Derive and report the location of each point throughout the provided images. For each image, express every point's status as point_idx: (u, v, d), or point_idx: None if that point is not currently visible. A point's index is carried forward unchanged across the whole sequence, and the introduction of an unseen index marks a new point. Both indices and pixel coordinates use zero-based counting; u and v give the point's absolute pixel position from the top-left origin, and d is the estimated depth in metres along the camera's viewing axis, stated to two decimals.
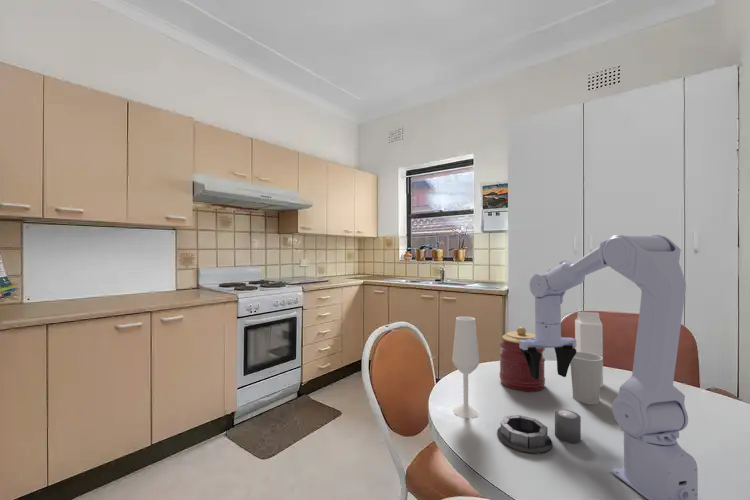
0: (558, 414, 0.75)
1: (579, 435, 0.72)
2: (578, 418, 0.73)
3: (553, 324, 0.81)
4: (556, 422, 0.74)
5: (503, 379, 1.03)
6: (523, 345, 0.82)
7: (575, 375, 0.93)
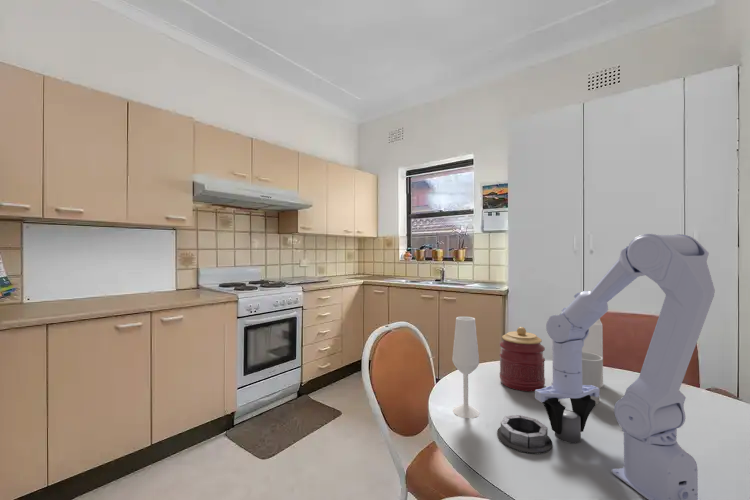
0: None
1: (579, 435, 0.72)
2: (578, 418, 0.73)
3: (574, 373, 0.72)
4: None
5: (503, 379, 1.03)
6: (540, 396, 0.73)
7: None
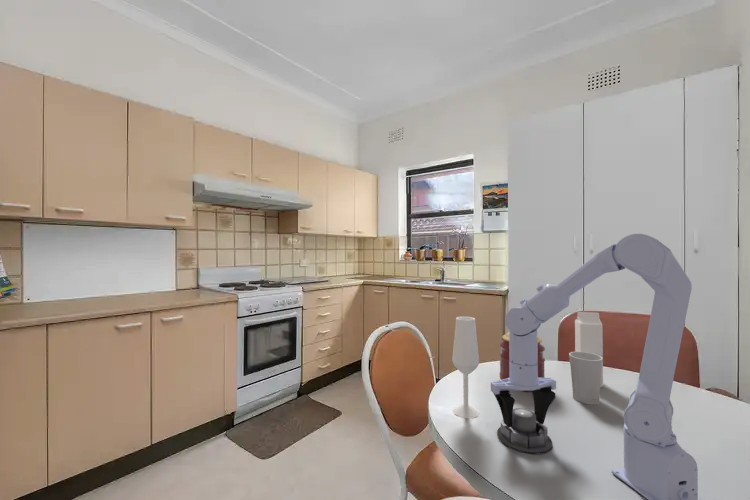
0: (515, 412, 0.74)
1: None
2: (533, 417, 0.72)
3: (528, 365, 0.71)
4: (512, 421, 0.74)
5: None
6: (494, 389, 0.72)
7: (575, 375, 0.93)
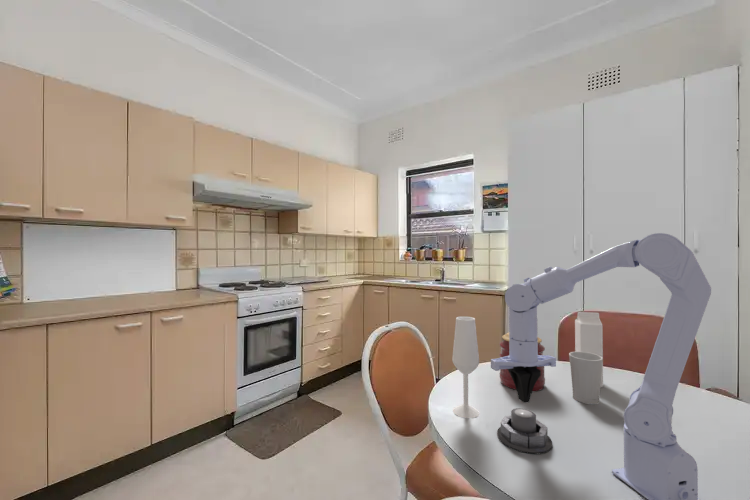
0: (515, 412, 0.74)
1: None
2: (533, 417, 0.72)
3: (528, 341, 0.71)
4: (512, 421, 0.74)
5: (503, 379, 1.03)
6: (494, 365, 0.72)
7: (575, 375, 0.93)
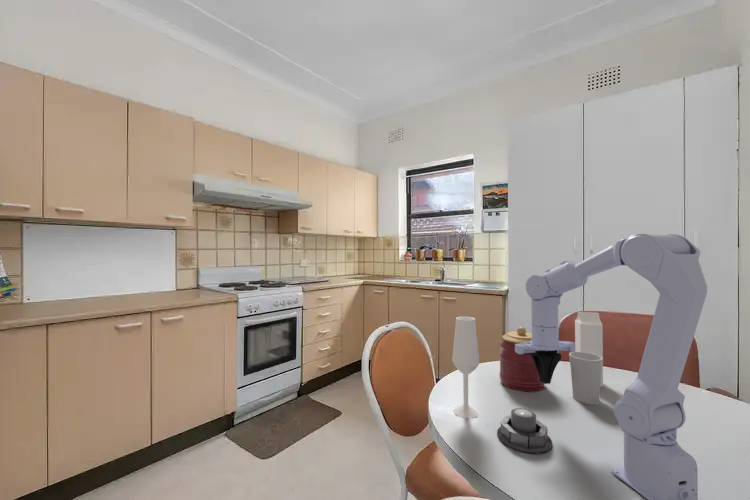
0: (515, 413, 0.74)
1: None
2: (533, 417, 0.72)
3: (550, 327, 0.77)
4: (512, 421, 0.74)
5: (503, 379, 1.03)
6: (519, 349, 0.78)
7: (575, 375, 0.93)
